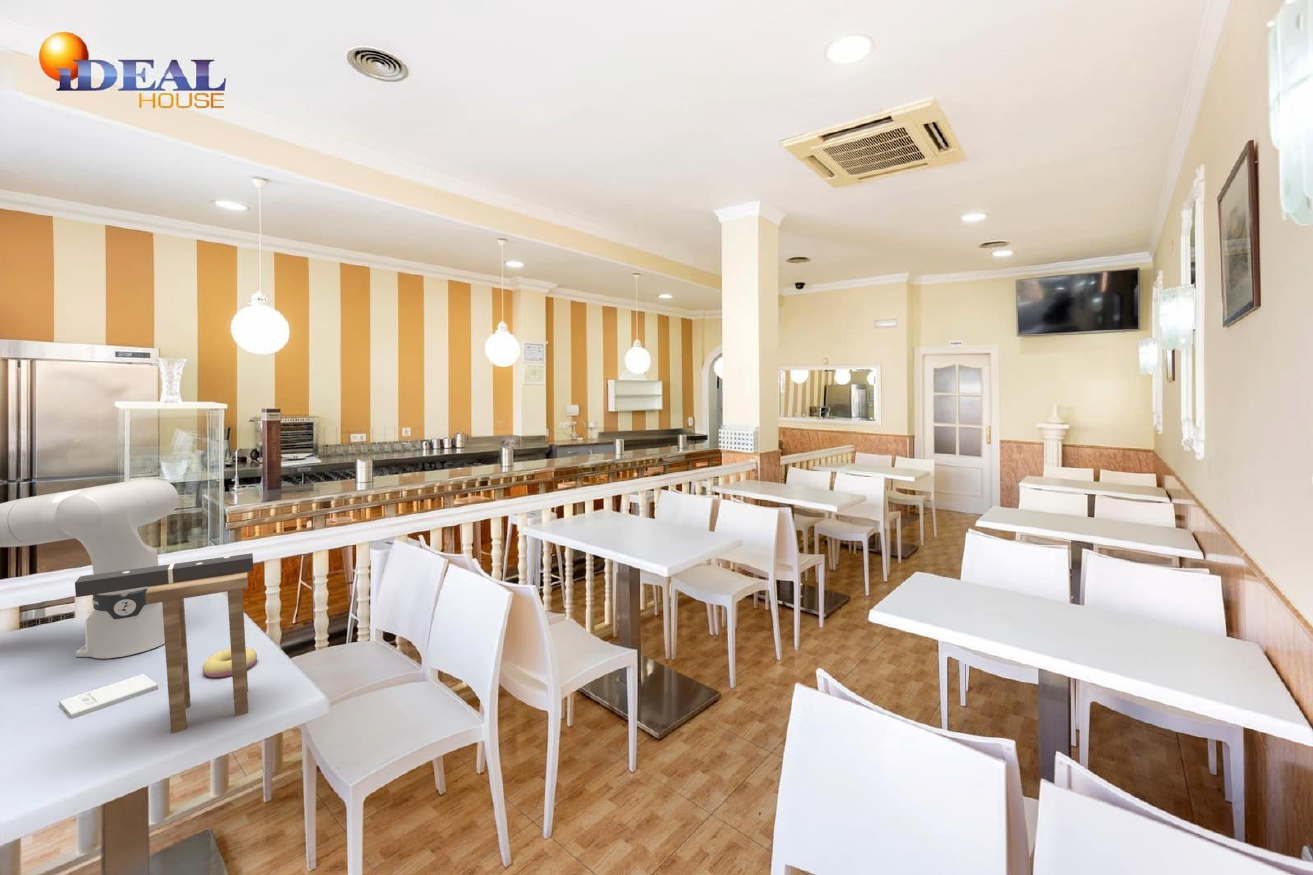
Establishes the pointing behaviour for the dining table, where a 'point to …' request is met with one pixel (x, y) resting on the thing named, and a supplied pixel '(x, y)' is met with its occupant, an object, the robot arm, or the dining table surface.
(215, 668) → the donut
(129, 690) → the external hard drive
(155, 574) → the domino
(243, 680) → the stool
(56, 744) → the dining table surface
